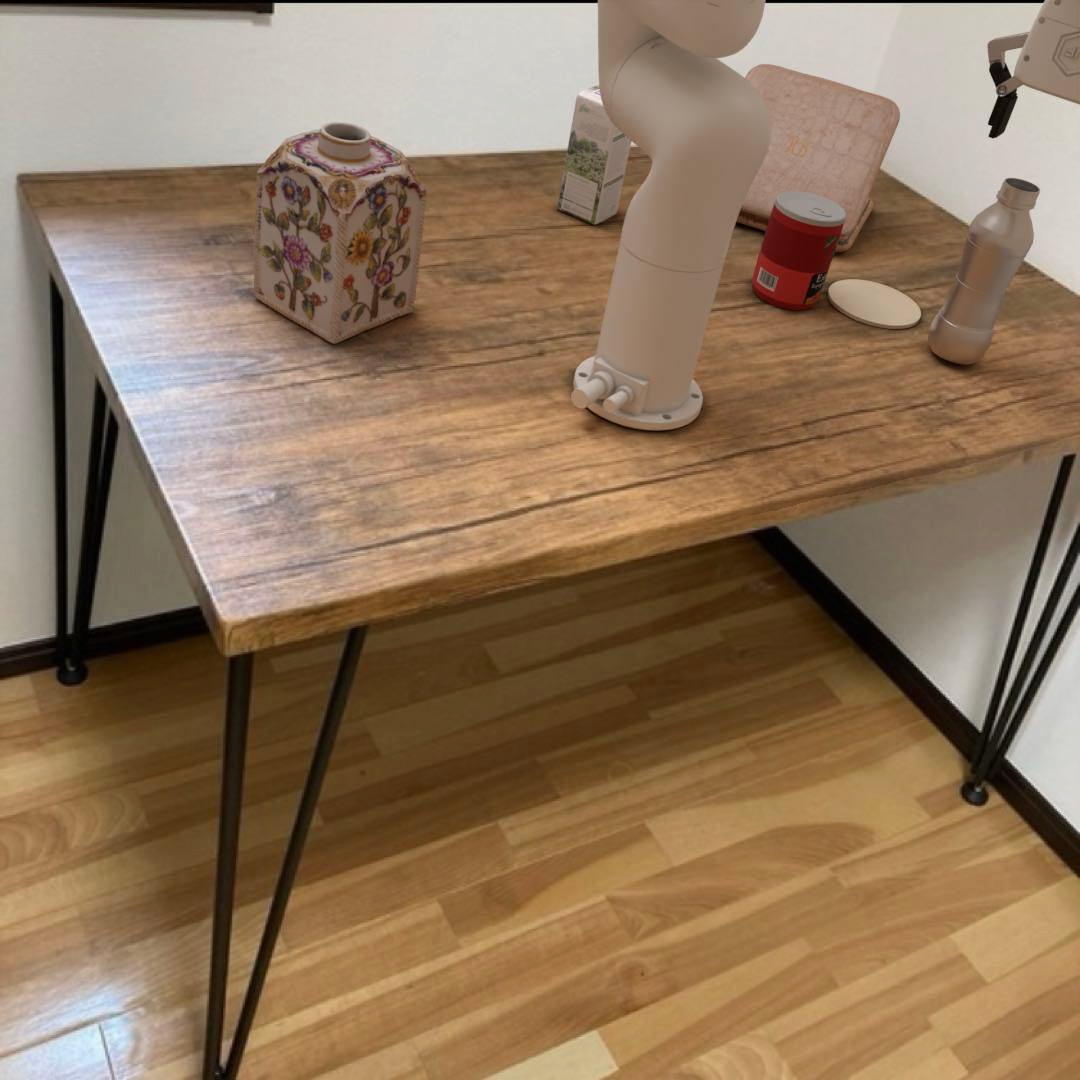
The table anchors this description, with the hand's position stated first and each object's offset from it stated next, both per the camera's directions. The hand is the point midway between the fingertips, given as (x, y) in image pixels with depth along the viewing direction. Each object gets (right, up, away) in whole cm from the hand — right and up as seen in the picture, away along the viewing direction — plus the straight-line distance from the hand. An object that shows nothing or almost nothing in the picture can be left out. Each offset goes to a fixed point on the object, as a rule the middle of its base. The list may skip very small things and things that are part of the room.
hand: (1041, 151), depth 124 cm
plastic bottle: (-4, -18, +14) cm, 24 cm away
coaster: (-11, -11, +21) cm, 27 cm away
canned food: (-22, -11, +20) cm, 31 cm away
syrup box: (-44, +1, +29) cm, 53 cm away
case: (-18, +4, +40) cm, 44 cm away
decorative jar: (-71, -15, +1) cm, 72 cm away
